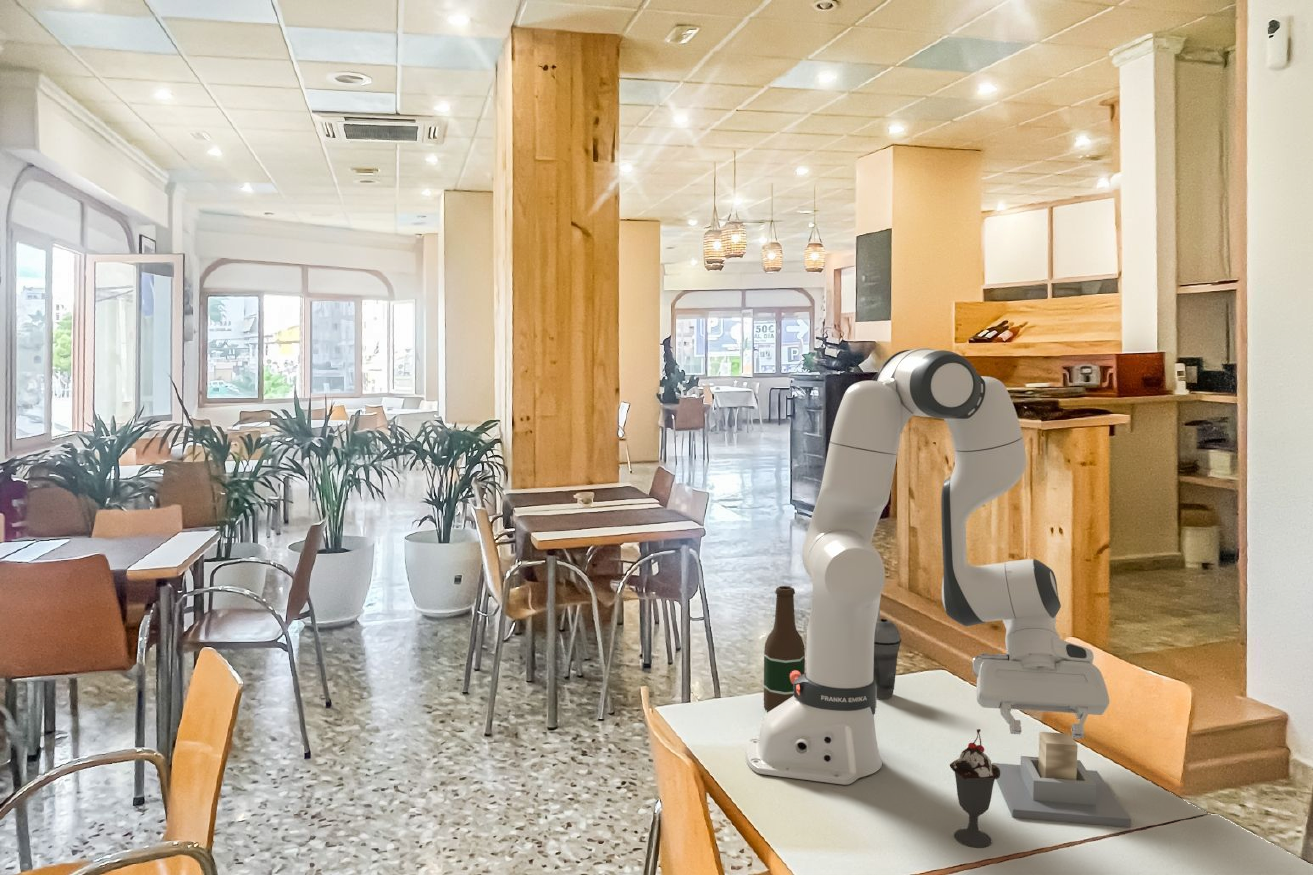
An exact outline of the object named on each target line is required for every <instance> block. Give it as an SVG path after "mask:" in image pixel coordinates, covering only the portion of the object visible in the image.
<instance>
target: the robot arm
mask: <svg viewBox="0 0 1313 875" xmlns="http://www.w3.org/2000/svg"><path fill="white" fill-rule="evenodd" d="M913 416H916V417H923V418H936V419H940V420H941V419H942V420H944V422H945V424H946V425H947V427H948V429H949V432H950V437H951V443H952V446H953V451H954V452H953V453H954V467H953V469H952V470H953V471H952V472H951V476H949V477H948V478H946V479H945V480H944V481H943V484H942V488H941V497H940V504H941V506H940V509H941V511H940V512H941V513H940V514H941V518H940V519H941V520H940V521H941V538H942V540H941V542H942V543H941V544H942V565H943V570H942V571H943V575H942V584H941V602H942V606H943V609H944V610H945V613H946V616H948V617H949V618H951V619H952V620H953V621H955V622H957V623H958V624H959V625H962V626H964V627H970V626H976V625H981V624H985V623H988V622H997V621H1002V623H1003V625H1004V627H1005V630H1006V632H1005V638H1004V642H1005V649H1006V654H1003V653H999V654H996V653H995V654H989V653H985V652H984V653H983V652H982V653H980V654H979V655H977V656H975V657H974V658H973V659H972V662H971V666H972V672H973V674H974V675H975V676H976V690H975V692H976V693H975V694H976V701H977V703H978V704H979V705H980V707H982V708H986V709H998V710H999V711H1000V715H1001V716H1002V718H1003V719H1004V720H1005V721H1006V723H1007V724H1008V725H1009V732H1010V734H1011V735H1021V733H1022V726H1021V725H1022V722H1021V720H1020V719H1015V717H1014V716H1013V714H1012V713H1011V712H1012V710H1018V711H1032V712H1033V711H1034V712H1047V713H1048V712H1049V713H1061V714H1062V713H1063V714H1075V719H1076V720H1079V721H1078V723H1072V724H1071V727H1070V732H1071V736H1072V738H1073V739H1081V740H1082V739H1084V738H1085V731H1084V724H1085V722H1086V720H1087V717H1088V715H1095V716H1096V715H1097V716H1101V715H1104V713H1105V712H1106V711H1107V710H1108V708H1109V705H1110V696H1109V692H1108V689H1107V685H1106V683H1105V680H1104V677H1103V674H1102V672H1101V671H1100V669H1099V668H1098V667H1097V666H1096V665H1095V664H1093V663H1094V659H1095V658H1094V652H1093V650H1092V649H1090V648H1087V647H1084V646H1080V645H1078V644H1074V643H1072V642H1069V641H1066V640H1065V639H1062V638H1061V637H1060V634H1059V632H1058V631H1057V628H1056V622H1057V615H1058V613H1059V612H1060V609H1061V608H1062V607H1061V606H1062V605H1061V602H1060V599H1059V593H1058V583H1057V582H1058V581H1057V578H1056V575H1055V573H1054V571H1053V569H1051V568H1050V567H1049V566H1047V565H1046V564H1045V563H1043V562H1042V561H1040V560H1038V559H1036V558H1033V559H1032V558H1026V559H1017V560H1009V561H1005V562H997V563H990V564H983V565H981V564H980V565H972V564H969V563H968V555H967V554H968V553H967V552H968V550H967V549H968V548H967V527H966V526H967V521H968V519H969V517H971V515H972V514H973V513H974V512H975V511H976V510H978V509H979V508H981V507H982V506H984V505H986V504H988V503H990V502H991V501H993V500H995V499H997V498H999V497H1001V496H1003V495H1004V494H1006V493H1008V492H1009V491H1011V489H1012V488H1014V486H1015V485H1016V484H1017V483H1018V482H1019V481H1020V480H1021V478H1022V477H1023V475H1024V474H1025V471H1026V468H1027V467H1026V466H1027V455H1026V454H1027V453H1026V445H1025V441H1024V436H1023V432H1022V427H1021V424H1020V421H1019V417H1018V414H1017V411H1016V408H1015V406H1014V402H1013V401H1012V398H1011V396H1010V392H1008V390H1007V387H1006V386H1005V384H1004V383H1003V382H1002V381H1001V380H999V379H997V378H995V377H992V376H985V375H984V376H983V375H982V376H981V375H980V374H979V373H978V372H977V370H976V368H975V367H974V365H972V363H971V362H970V361H969V360H967V358H965V357H964V356H963V355H960V354H959V353H956V352H953V351H950V350H945V349H944V350H939V349H938V350H937V349H934V348H927V347H924V348H923V347H922V348H916V349H905V350H904V349H903V350H901V351H898V352H896V353H894V354H892V355H891V356H890V357H888V358H887V359H886V360H885V361H884V363H883V364H882V365H881V366H880V368H879V370H878V371H877V372H876V374H875V375H874V376H873V377H872V378H871V380H861V381H858V382H854V383H853V384H851V385H850V386H849V387H848V388H847V389H846V390H845V393H844V394H843V396H842V400H841V401H840V404H839V407H838V409H837V412H836V416H835V419H834V423H833V426H832V430H831V434H830V438H829V439H830V440H829V444H828V448H827V449H828V450H827V455H826V459H825V464H824V470H823V475H822V480H821V485H820V489H819V494H818V496H817V500H816V503H815V505H814V508H813V511H812V515H811V517H810V518H811V519H810V522H809V525H808V528H807V532H806V537H805V539H804V542H803V546H802V552H801V554H802V565H803V567H804V569H805V571H806V573H807V575H809V577H810V578H811V579H810V580H811V583H812V595H811V604H810V612H809V618H808V624H807V627H806V645H805V646H806V647H805V648H806V650H805V651H806V652H805V673H804V674H803V675H801V673H800V672H799V671H796V670H795V671H792V673H790V681H791V683H792V684H794V686H793V691H794V696H792V697H791V698H789V699H788V700H786V701H785V702H783V703H782V704H780V705H779V706H777V707H775V708H774V709H772V710H771V711H769V712H768V711H767V713H766V714H765V716H764V718H763V720H762V723H761V726H760V731H759V734H757V735H755V736H754V737H752V738H751V739H750V740H749V741H748V742H747V745H746V751H745V760H746V763H747V765H748V767H749V768H750V769H751V770H752V771H754V772H755V773H757V774H758V775H759V774H760V775H766V776H767V775H768V776H774V777H782V778H788V779H789V778H791V779H797V780H807V781H813V782H820V783H829V784H836V785H837V784H838V785H851V784H852V783H854V782H856V781H857V780H858V779H860V778H864V777H867V776H870V775H873V774H874V773H876V772H878V770H880V769H882V766H883V761H882V758H881V753H880V749H879V745H878V740H877V732H876V724H875V722H876V721H875V714H876V708H877V700H878V699H877V687H876V681H875V679H874V677H873V671H874V635H875V627H876V621H877V619H878V611H879V608H880V604H881V596H882V592H883V589H884V587H885V584H886V569H885V565H884V562H883V559H882V556H881V555H880V552H878V550H877V549H876V547H874V546H873V543H872V542H873V538H874V535H875V532H876V529H877V526H878V524H879V521H880V518H881V515H882V513H883V510H884V509H885V507H886V506H887V505H888V503H889V500H890V494H891V488H892V485H893V481H894V480H893V479H894V475H895V474H894V473H895V469H896V464H897V460H898V452H899V448H900V441H901V435H902V433H903V430H904V428H905V426H906V424H907V423H908V422H909V421H910V419H911V418H912V417H913Z"/></svg>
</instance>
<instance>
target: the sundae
mask: <svg viewBox="0 0 1313 875" xmlns="http://www.w3.org/2000/svg"><path fill="white" fill-rule="evenodd" d="M980 732H981V729H979V728H977V729H976V733H977V734H976V735H977V736H976V738H975V739H974V741H973V742H969V743H968V745H967V748H965V749H964V750H962V751H961V753H960V755H959V758H958V759H955V760H953V761H952V762H951V763H950V764H949V767H950V769H951V770H952V771H953V772H954V777H955V784H956V792H957V793H956V795H957V800H958V804H959V806H960V808H962V810H963V811H964V812H966V814H968V825H967V828H960V829H957V830H956V831H955V832H954V836H953V837H954V838H955V839H956V841H958V842H959V843H961V844H962V845H964V846H967V847H971V848H986V847H989V846H990V845H991V844H993V843H992V842H993V841H992V838H991V836H990V835H988V834H987V833H986V832H984V831H982V830H979V823H978V822H979V817H980V816H981V815H983V814H984V813H986V812H987V811H988V810H989V808H990V804H991V801H992V794H993V788H994V784H995V780H996V779H998V778H999V777H1000V769H999V768H998V767H997V766H996V765H993V764H992V760H991V759H990V757H989V756H988V755H987V754H985V747H984V746H982V738H981V734H980ZM978 738H979V744H978V745H977V744H976V742H977V740H978Z"/></svg>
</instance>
